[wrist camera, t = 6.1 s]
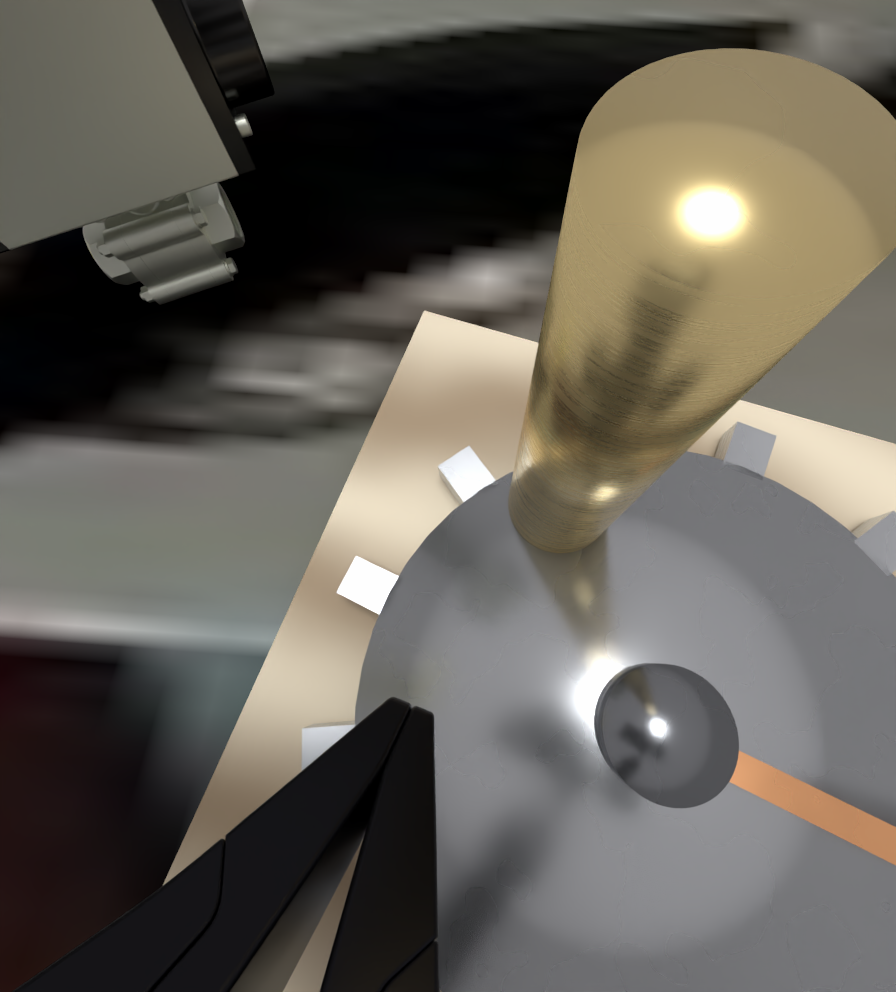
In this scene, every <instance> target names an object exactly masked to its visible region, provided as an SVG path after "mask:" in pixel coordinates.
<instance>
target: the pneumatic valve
mask: <svg viewBox="0 0 896 992" xmlns="http://www.w3.org/2000/svg"><path fill="white" fill-rule="evenodd" d="M272 95H274V88H273V85H272V82H271V79H270V76H269V74H268V71H267V68H266V65H265V62H264V59H263V57H262V54H261V51H260V48H259V46H258V43H257V40H256V37H255V34H254V32H253V29H252V26H251V23H250V21H249V18H248V15H247V12H246V9H245V7H244V4H243V1H242V0H0V253H3V252H6V251H9V250H12V249H15V248H18V247H21V246H24V245H27V244H30V243H34V242H37V241H40V240H43V239H46V238H49V237H52V236H55V235H58V234H61V233H64V232H67V231H70V230H73V229H77V228H80V227H83V226H84V227H83V235H84V239H85V242H86V244H87V247H88V249H89V251H90V253H91V254H92V256H93V258H94V259H95V261H96V262H97V264H98V265H99V267H100V268H101V269H102V271H103V272H104V273H105V274H106V275H107V276H108V277H109V278H110V279H111V280H112V281H114V282H115V283H118V284H123V285H130V284H133V283H136V282H138V281H140V282H141V283H142V284H143V285H145V286H143V287H141V292H140V296H141V298H142V299H143V300H146V301H147V302H150V303H151V302H154V301H156V302H157V303H158V304H160V305H162V304H164V303H167V302H170V301H173V300H176V299H179V298H182V297H185V296H188V295H191V294H194V293H197V292H200V291H203V290H206V289H209V288H212V287H215V286H218V285H221V284H224V283H227V282H230V281H233V280H234V278H233V276H234V274H237V273H238V269H237V266H236V264H235V262H234V260H233V259H232V258H231V257H230V258H226V254H225V252H228V251H231V250H234V249H237V248H240V247H243V245H244V242H245V238H244V235H243V232H242V229H241V226H240V223H239V221H238V219H237V216H236V214H235V212H234V210H233V207H232V205H231V203H230V201H229V199H228V197H227V195H226V194H225V192H224V190H223V189H222V187H221V186H220V184H219V183H218V182H221V181H224V180H227V179H230V178H233V177H236V176H239V175H242V174H246V173H249V172H252V171H255V170H256V167H255V164H254V161H253V158H252V155H251V152H250V149H249V146H248V143H247V140H246V137H247V136H250V135H252V130H251V127H250V125H249V122H248V120H247V118H246V115H245V114H244V113H243V114H239V115H238V113H237V110H236V107H238V106H241V105H244V104H247V103H250V102H253V101H257V100H260V99H263V98H266V97H269V96H272Z"/></svg>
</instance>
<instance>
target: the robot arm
mask: <svg viewBox="0 0 896 992" xmlns="http://www.w3.org/2000/svg"><path fill="white" fill-rule="evenodd" d="M362 839H363V841H362ZM361 841H362V844H361V848H360V851H359V855H358V858H357V862H356V866H355V869H354V873H353V876H352V880H351V883H350V887H349V890H348V894H347V897H346V901H345V904H344V908H343V911H342V915H341V918H340V922H339V925H338V929H337V932H336V936H335V939H334V943H333V946H332V950H331V953H330V957H329V960H328V964H327V967H326V971H325V974H324V978H323V981H322V985H321V988H320V992H440V979H439V944H438V942H437V939H438V886H437V830H436V773H435V719H434V714H433V713H432V712H431V711H428V710H426V709H423V708H421V707H418V706H413V707H412V706H411V704H410V703H409V702H406V701H404V700H401V699H399V698H396V697H390V698H388V699H387V700H386V701H384V702H383V703H382V704H381V705H380V706H379V707H377V708H376V709H375V710H374V711H373V712H371V713H370V714H369V715H368V716H367V717H365V718H364V719H363V720H362V721H361V722H359V723H358V724H357V725H356V726H355V727H353V728H352V729H351V730H350V731H349V732H348V733H346V734H345V735H344V736H343V737H342V738H340V739H339V740H338V741H337V742H336V743H334V744H333V745H332V746H331V747H330V748H328V749H327V750H326V751H325V752H324V753H322V754H321V755H320V756H319V757H318V758H317V759H315V760H314V761H313V762H312V763H311V764H309V765H308V766H307V767H306V768H305V769H303V770H302V771H301V772H300V773H299V774H297V775H296V776H295V777H294V778H293V779H292V780H290V781H289V782H288V783H287V784H286V785H284V786H283V787H282V788H281V789H280V790H278V791H277V792H276V793H275V794H274V795H272V796H271V797H270V798H269V799H268V800H266V801H265V802H264V803H263V804H262V805H261V806H259V807H258V808H257V809H256V810H255V811H253V812H252V813H251V814H250V815H249V816H247V817H246V818H245V819H244V820H243V821H241V822H240V823H239V824H238V825H237V826H235V827H234V828H233V829H232V830H231V831H230V832H228V833H227V834H226V836H225V840H224V839H223V838H222V839H220V840H218V841H217V842H216V843H215V844H214V845H212V846H211V847H210V848H209V849H208V850H207V851H205V852H204V853H203V854H202V855H201V856H199V857H198V858H197V859H196V860H194V861H193V862H192V863H191V864H189V865H188V866H187V867H186V868H184V869H183V870H182V871H181V872H179V873H178V874H177V875H176V876H174V877H173V878H172V879H171V880H169V881H168V882H167V883H166V884H164V885H163V886H162V887H160V888H159V889H158V890H156V891H155V892H154V893H152V894H151V895H149V896H148V897H147V898H145V899H144V900H142V901H141V902H140V903H138V904H137V905H136V906H134V907H133V908H131V909H130V910H129V911H127V912H126V913H125V914H123V915H122V916H120V917H119V918H118V919H116V920H115V921H113V922H112V923H110V924H109V925H107V926H106V927H104V928H103V929H102V930H100V931H99V932H97V933H96V934H94V935H93V936H91V937H90V938H89V939H87V940H86V941H84V942H83V943H81V944H80V945H78V946H77V947H76V948H74V949H73V950H71V951H70V952H68V953H67V954H65V955H64V956H63V957H61V958H60V959H58V960H57V961H55V962H54V963H52V964H51V965H50V966H48V967H47V968H45V969H44V970H42V971H41V972H39V973H38V974H37V975H35V976H34V977H32V978H31V979H29V980H28V981H26V982H25V983H23V984H22V985H21V986H19V987H18V988H16V989H15V990H13V991H12V992H283V990H284V989H285V987H286V985H287V983H288V981H289V979H290V977H291V975H292V973H293V971H294V969H295V968H296V966H297V964H298V962H299V960H300V958H301V956H302V954H303V952H304V950H305V948H306V947H307V945H308V943H309V941H310V939H311V937H312V935H313V933H314V931H315V929H316V927H317V926H318V924H319V922H320V920H321V918H322V916H323V914H324V912H325V910H326V908H327V906H328V905H329V903H330V901H331V899H332V897H333V895H334V893H335V891H336V889H337V887H338V886H339V884H340V882H341V880H342V878H343V876H344V874H345V872H346V870H347V868H348V866H349V865H350V863H351V861H352V859H353V857H354V855H355V853H356V851H357V849H358V847H359V845H360V843H361Z"/></svg>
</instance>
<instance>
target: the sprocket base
mask: <svg viewBox="0 0 896 992" xmlns="http://www.w3.org/2000/svg"><path fill="white" fill-rule="evenodd" d="M537 348H538V343H537V342H533V341H530V340H526V339H523V338H519V337H515V336H512V335H508V334H505V333H501V332H498V331H494V330H491V329H487V328H484V327H480V326H477V325H473V324H470V323H466V322H462V321H459V320H455V319H452V318H448V317H445V316H441V315H438V314H434V313H431V312H427V311H424V312H423V315H422V317H421V319H420V321H419V323H418V326H417V328H416V330H415V332H414V334H413V337H412V339H411V341H410V343H409V345H408V348H407V350H406V352H405V354H404V356H403V359H402V361H401V363H400V365H399V367H398V370H397V372H396V374H395V376H394V378H393V381H392V383H391V385H390V387H389V389H388V392H387V394H386V396H385V398H384V400H383V403H382V405H381V407H380V409H379V411H378V413H377V416H376V418H375V420H374V422H373V424H372V427H371V429H370V431H369V433H368V435H367V438H366V440H365V442H364V444H363V446H362V449H361V451H360V453H359V455H358V457H357V460H356V462H355V464H354V466H353V468H352V471H351V473H350V475H349V477H348V479H347V482H346V484H345V486H344V488H343V490H342V493H341V495H340V497H339V499H338V501H337V504H336V506H335V508H334V510H333V512H332V515H331V517H330V519H329V521H328V523H327V526H326V528H325V530H324V532H323V534H322V537H321V539H320V541H319V543H318V545H317V548H316V550H315V552H314V554H313V556H312V559H311V561H310V563H309V565H308V567H307V569H306V572H305V574H304V576H303V578H302V580H301V583H300V585H299V587H298V589H297V591H296V594H295V596H294V598H293V600H292V602H291V605H290V607H289V609H288V611H287V613H286V616H285V618H284V620H283V622H282V624H281V627H280V629H279V631H278V633H277V635H276V638H275V640H274V642H273V644H272V646H271V649H270V651H269V653H268V655H267V657H266V660H265V662H264V664H263V666H262V668H261V671H260V673H259V675H258V677H257V679H256V682H255V684H254V686H253V688H252V690H251V693H250V695H249V697H248V699H247V701H246V704H245V706H244V708H243V710H242V712H241V715H240V717H239V719H238V721H237V723H236V726H235V728H234V730H233V732H232V734H231V736H230V739H229V741H228V743H227V745H226V747H225V750H224V752H223V754H222V756H221V758H220V761H219V763H218V765H217V767H216V769H215V772H214V774H213V776H212V778H211V780H210V783H209V785H208V787H207V789H206V791H205V794H204V796H203V798H202V800H201V802H200V805H199V807H198V809H197V811H196V813H195V816H194V818H193V820H192V822H191V824H190V827H189V829H188V831H187V833H186V835H185V838H184V840H183V842H182V844H181V846H180V849H179V851H178V853H177V855H176V857H175V860H174V862H173V864H172V866H171V868H170V871H169V873H168V875H167V877H166V879H165V882H164V884H166V883H167V882H168V881H169V880H171V879H172V878H173V877H174V876H176V875H177V874H178V873H179V872H181V871H182V870H183V869H184V868H186V867H187V866H188V865H189V864H191V863H192V862H193V861H194V860H196V859H197V858H198V857H199V856H201V855H202V854H203V853H204V852H205V851H207V850H208V849H209V848H210V847H211V846H212V845H214V844H215V843H216V842H217V841H218V840H220V839H222V838H223V839H224V840H225V836H226V834H227V833H228V832H230V831H231V830H232V829H233V828H234V827H235V826H237V825H238V824H239V823H240V822H241V821H243V820H244V819H245V818H246V817H247V816H249V815H250V814H251V813H252V812H253V811H255V810H256V809H257V808H258V807H259V806H261V805H262V804H263V803H264V802H265V801H266V800H268V799H269V798H270V797H271V796H272V795H274V794H275V793H276V792H277V791H278V790H280V789H281V788H282V787H283V786H284V785H286V784H287V783H288V782H289V781H290V780H292V779H293V778H294V777H295V776H296V775H297V774H299V773H300V772H301V770H302V728H304V727H307V726H309V725H312V724H316V723H329V722H343V721H355V706H356V700H357V694H358V688H359V682H360V676H361V670H362V665H363V662H364V658H365V655H366V651H367V648H368V645H369V641H370V638H371V634H372V631H373V628H374V626H375V623H376V621H377V619H378V616H379V614H378V613H376V612H374V611H372V610H370V609H368V608H366V607H364V606H362V605H360V604H358V603H356V602H354V601H352V600H350V599H348V598H346V597H344V596H342V595H340V594H338V593H336V592H337V590H338V589H339V587H340V585H341V583H342V581H343V579H344V577H345V575H346V574H347V572H348V570H349V568H350V566H351V564H352V562H353V561H354V559H355V557H356V556H358V557H360V558H362V559H364V560H366V561H368V562H370V563H372V564H374V565H376V566H378V567H380V568H382V569H384V570H386V571H388V572H391V573H393V574H395V575H397V576H399V575H400V573H401V571H402V570H403V568H404V566H405V565H406V563H407V562H408V560H409V559H410V558H411V557H412V555H413V554H414V553H415V551H416V550H417V549H418V548H419V546H420V545H421V544H422V542H423V541H424V540H425V538H426V537H427V536H428V535H429V534H430V533H431V532H432V531H433V530H434V529H435V528H436V527H437V526H438V525H439V524H440V523H441V522H442V521H443V520H444V519H445V518H446V517H447V516H448V515H449V514H450V513H451V512H452V511H453V510H454V509H456V508H457V507H458V506H459V505H460V504H459V503H458V501H457V500H456V498H455V497H454V496H453V494H452V493H451V492H450V490H449V489H448V487H447V486H446V485H445V483H444V482H443V481H442V479H441V478H440V475H439V470H438V466H439V465H440V464H442V463H443V462H445V461H446V460H448V459H449V458H451V457H452V456H454V455H455V454H457V453H458V452H460V451H461V450H463V449H465V448H466V447H468V446H470V447H471V449H472V450H473V451H474V453H475V454H476V455H477V457H478V458H479V459H480V460H481V462H482V463H483V464H484V466H485V467H486V468H487V470H488V471H489V472H490V474H491V475H492V476H493V478H494V479H495V480H498V479H500V478H501V477H503V476H505V475H506V474H508V473H511V472H513V470H514V465H515V460H516V455H517V450H518V445H519V440H520V435H521V430H522V425H523V420H524V415H525V409H526V404H527V399H528V394H529V389H530V384H531V379H532V374H533V369H534V364H535V359H536V354H537ZM737 421H738V422H741V423H743V424H746V425H749V426H752V427H754V428H757V429H760V430H762V431H765V432H768V433H770V434H773V435H776V436H777V437H776V440H775V443H774V446H773V449H772V452H771V455H770V458H769V462H768V465H767V468H766V471H765V474H764V476H765V477H767V478H769V479H771V480H774V481H776V482H778V483H780V484H782V485H783V486H785V487H787V488H788V489H790V490H792V491H793V492H795V493H797V494H799V495H800V496H802V497H804V498H805V499H807V500H809V501H810V502H812V503H814V504H815V505H816V506H818V507H819V508H820V509H822V510H823V511H824V512H826V513H827V514H828V515H830V516H831V517H833V518H834V519H835V520H837V521H838V522H839V523H841V524H842V525H843V526H845V527H846V528H847V529H848V530H849V531H850V532H853V531H854V530H855V529H856V528H858V527H859V526H860V525H862V524H863V523H864V522H865V521H867V520H868V519H871V518H874V517H877V516H880V515H882V514H885V513H888V512H891V511H895V512H896V444H894V443H890V442H886V441H883V440H879V439H876V438H872V437H869V436H865V435H862V434H858V433H855V432H851V431H848V430H844V429H841V428H837V427H833V426H830V425H826V424H823V423H819V422H816V421H812V420H809V419H805V418H802V417H798V416H795V415H791V414H788V413H784V412H780V411H777V410H773V409H770V408H766V407H763V406H759V405H756V404H752V403H749V402H745V401H742V400H739V401H738V402H737V403H736V404H735V405H734V406H733V407H732V408H730V409H729V410H728V411H727V412H726V413H725V414H724V415H723V416H722V417H721V418H720V419H719V420H718V421H717V422H716V423H715V424H714V425H713V426H712V427H711V428H710V429H709V430H708V431H707V432H706V433H705V434H704V435H703V436H702V437H701V438H700V439H699V440H698V441H696V442H695V443H694V444H693V445H692V446H691V447H690V448H689V449H688V450H687V451H688V452H693V453H698V454H703V455H708V456H711V457H715V454H716V452H717V449H718V446H719V443H720V440H721V438H722V435H723V434H724V433H725V432H726V431H727V430H728V429H729V428H731V427H732V426H733V425H734V424H735V423H736V422H737ZM892 574H893V575H894V576H895V577H896V570H895V571H894V572H893V573H892ZM362 841H363V839H362ZM362 841H361V843H360V845H359V847H358V849H357V851H356V853H355V855H354V857H353V859H352V861H351V863H350V865H349V866H348V868H347V870H346V872H345V874H344V876H343V878H342V880H341V882H340V884H339V886H338V887H337V889H336V891H335V893H334V895H333V897H332V899H331V901H330V903H329V905H328V906H327V908H326V910H325V912H324V914H323V916H322V918H321V920H320V922H319V924H318V926H317V927H316V929H315V931H314V933H313V935H312V937H311V939H310V941H309V943H308V945H307V947H306V948H305V950H304V952H303V954H302V956H301V958H300V960H299V962H298V964H297V966H296V968H295V969H294V971H293V973H292V975H291V977H290V979H289V981H288V983H287V985H286V987H285V989H284V990H283V992H320V988H321V985H322V981H323V978H324V974H325V971H326V967H327V964H328V960H329V957H330V953H331V950H332V946H333V943H334V939H335V936H336V932H337V929H338V925H339V922H340V918H341V915H342V911H343V908H344V904H345V901H346V897H347V894H348V890H349V887H350V883H351V880H352V876H353V873H354V869H355V866H356V862H357V858H358V855H359V851H360V848H361V844H362ZM164 884H163V885H164ZM440 992H441V990H440Z"/></svg>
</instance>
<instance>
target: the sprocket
mask: <svg viewBox="0 0 896 992" xmlns="http://www.w3.org/2000/svg"><path fill="white" fill-rule="evenodd" d="M895 247H896V121H895V119H894V118H893V117H892V115H891V114H890V113H889V112H888V111H887V110H886V109H885V108H884V107H883V106H882V105H881V104H880V103H879V102H878V101H877V100H876V99H875V98H873V97H872V96H871V95H869V94H868V93H867V92H866V91H864V90H863V89H862V88H860V87H859V86H857V85H856V84H854V83H852V82H851V81H849V80H848V79H846V78H844V77H842V76H840V75H838V74H836V73H834V72H832V71H830V70H828V69H826V68H824V67H821V66H819V65H816V64H813V63H811V62H808V61H805V60H802V59H798V58H795V57H791V56H788V55H784V54H778V53H773V52H768V51H760V50H751V49H710V50H701V51H695V52H688V53H683V54H679V55H676V56H672V57H668V58H665V59H662V60H659V61H657V62H654V63H651V64H649V65H647V66H645V67H643V68H641V69H639V70H637V71H635V72H633V73H631V74H630V75H628V76H627V77H625V78H624V79H622V80H621V81H619V82H618V83H617V84H615V85H614V86H613V87H612V88H611V89H610V90H608V91H607V92H606V93H605V94H604V95H603V97H602V98H601V99H600V100H599V101H598V102H597V103H596V104H595V106H594V108H593V109H592V111H591V112H590V114H589V115H588V117H587V119H586V121H585V123H584V126H583V128H582V130H581V133H580V137H579V141H578V145H577V150H576V155H575V160H574V165H573V171H572V176H571V181H570V186H569V191H568V196H567V201H566V206H565V211H564V216H563V221H562V226H561V232H560V237H559V242H558V247H557V252H556V257H555V262H554V267H553V272H552V277H551V282H550V287H549V293H548V298H547V303H546V308H545V313H544V318H543V323H542V328H541V333H540V338H539V343H538V348H537V354H536V359H535V364H534V369H533V374H532V379H531V384H530V389H529V394H528V399H527V404H526V409H525V415H524V420H523V425H522V430H521V435H520V440H519V445H518V450H517V455H516V460H515V465H514V470H513V472H511V473H508V474H506V475H505V476H503V477H501V478H500V479H498V480H495V479H494V478H493V476H492V475H491V474H490V472H489V471H488V470H487V468H486V467H485V466H484V464H483V463H482V462H481V460H480V459H479V458H478V457H477V455H476V454H475V453H474V451H473V450H472V449H471V447H470V446H468V447H466V448H465V449H463V450H461V451H460V452H458V453H457V454H455V455H454V456H452V457H451V458H449V459H448V460H446V461H445V462H443V463H442V464H440V465H439V466H438V470H439V475H440V478H441V479H442V481H443V482H444V483H445V485H446V486H447V487H448V489H449V490H450V492H451V493H452V494H453V496H454V497H455V498H456V500H457V501H458V503H459V504H460V505H459V506H458V507H457V508H456V509H454V510H453V511H452V512H451V513H450V514H449V515H448V516H447V517H446V518H445V519H444V520H443V521H442V522H441V523H440V524H439V525H438V526H437V527H436V528H435V529H434V530H433V531H432V532H431V533H430V534H429V535H428V536H427V537H426V538H425V540H424V541H423V542H422V544H421V545H420V546H419V548H418V549H417V550H416V551H415V553H414V554H413V555H412V557H411V558H410V559H409V560H408V562H407V563H406V565H405V566H404V568H403V570H402V571H401V573H400V575H399V576H397V575H395V574H393V573H391V572H388V571H386V570H384V569H382V568H380V567H378V566H376V565H374V564H372V563H370V562H368V561H366V560H364V559H362V558H360V557H358V556H356V557H355V559H354V561H353V562H352V564H351V566H350V568H349V570H348V572H347V574H346V575H345V577H344V579H343V581H342V583H341V585H340V587H339V589H338V590H337V592H336V593H338V594H340V595H342V596H344V597H346V598H348V599H350V600H352V601H354V602H356V603H358V604H360V605H362V606H364V607H366V608H368V609H370V610H372V611H374V612H376V613H378V614H379V616H378V619H377V621H376V623H375V626H374V628H373V631H372V634H371V638H370V641H369V645H368V648H367V651H366V655H365V658H364V662H363V665H362V670H361V676H360V682H359V688H358V694H357V700H356V706H355V721H343V722H329V723H316V724H312V725H309V726H307V727H304V728H302V770H303V769H305V768H306V767H307V766H308V765H309V764H311V763H312V762H313V761H314V760H315V759H317V758H318V757H319V756H320V755H321V754H322V753H324V752H325V751H326V750H327V749H328V748H330V747H331V746H332V745H333V744H334V743H336V742H337V741H338V740H339V739H340V738H342V737H343V736H344V735H345V734H346V733H348V732H349V731H350V730H351V729H352V728H353V727H355V726H356V725H357V724H358V723H359V722H361V721H362V720H363V719H364V718H365V717H367V716H368V715H369V714H370V713H371V712H373V711H374V710H375V709H376V708H377V707H379V706H380V705H381V704H382V703H383V702H384V701H386V700H387V699H388V698H390V697H396V698H399V699H401V700H404V701H406V702H409V703H410V704H411V706H412V707H413V706H418V707H421V708H423V709H426V710H428V711H431V712H432V713H433V714H434V719H435V773H436V830H437V886H438V939H437V942H438V944H439V979H440V990H441V992H896V577H895V576H894V575H893V574H892V573H893V572H894V571H895V570H896V512H895V511H891V512H888V513H885V514H882V515H880V516H877V517H874V518H871V519H868V520H867V521H865V522H864V523H863V524H862V525H860V526H859V527H858V528H856V529H855V530H854V531H853V532H850V531H849V530H848V529H847V528H846V527H845V526H843V525H842V524H841V523H839V522H838V521H837V520H835V519H834V518H833V517H831V516H830V515H828V514H827V513H826V512H824V511H823V510H822V509H820V508H819V507H818V506H816V505H815V504H814V503H812V502H810V501H809V500H807V499H805V498H804V497H802V496H800V495H799V494H797V493H795V492H793V491H792V490H790V489H788V488H787V487H785V486H783V485H782V484H780V483H778V482H776V481H774V480H771V479H769V478H767V477H765V476H764V474H765V471H766V468H767V465H768V462H769V458H770V455H771V452H772V449H773V446H774V443H775V440H776V437H777V436H776V435H773V434H770V433H768V432H765V431H762V430H760V429H757V428H754V427H752V426H749V425H746V424H743V423H741V422H738V421H737V422H736V423H735V424H734V425H733V426H732V427H731V428H729V429H728V430H727V431H726V432H725V433H724V434H723V435H722V438H721V440H720V443H719V446H718V449H717V452H716V454H715V457H711V456H708V455H703V454H698V453H693V452H688V451H687V450H688V449H689V448H690V447H691V446H692V445H693V444H694V443H695V442H696V441H698V440H699V439H700V438H701V437H702V436H703V435H704V434H705V433H706V432H707V431H708V430H709V429H710V428H711V427H712V426H713V425H714V424H715V423H716V422H717V421H718V420H719V419H720V418H721V417H722V416H723V415H724V414H725V413H726V412H727V411H728V410H729V409H730V408H732V407H733V406H734V405H735V404H736V403H737V402H738V401H739V400H740V399H741V398H742V397H743V396H744V395H745V394H746V393H747V392H748V391H749V390H750V389H751V388H752V387H753V386H754V385H755V384H756V383H757V382H758V381H759V380H760V379H761V378H762V377H763V376H764V375H765V374H767V373H768V372H769V371H770V370H771V369H772V368H773V367H774V366H775V365H776V364H777V363H778V362H779V361H780V360H781V359H782V358H783V357H784V356H785V355H786V354H787V353H788V352H789V351H790V350H791V349H792V348H793V347H794V346H795V345H796V344H797V343H798V342H799V341H801V340H802V339H803V338H804V337H805V336H806V335H807V334H808V333H809V332H810V331H811V330H812V329H813V328H814V327H815V326H816V325H817V324H818V323H819V322H820V321H821V320H822V319H823V318H824V317H825V316H826V315H827V314H828V313H829V312H830V311H831V310H832V309H833V308H834V307H836V306H837V305H838V304H839V303H840V302H841V301H842V300H843V299H844V298H845V297H846V296H847V295H848V294H849V293H850V292H851V291H852V290H853V289H854V288H855V287H856V286H857V285H858V284H859V283H860V282H861V281H862V280H863V279H864V278H865V277H866V276H867V275H868V274H870V273H871V272H872V271H873V270H874V269H875V268H876V267H877V266H878V265H879V264H880V263H881V262H882V261H883V260H884V259H885V258H886V257H887V256H888V255H889V254H890V253H891V252H892V251H893V250H894V248H895ZM302 770H301V771H302Z"/></svg>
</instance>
